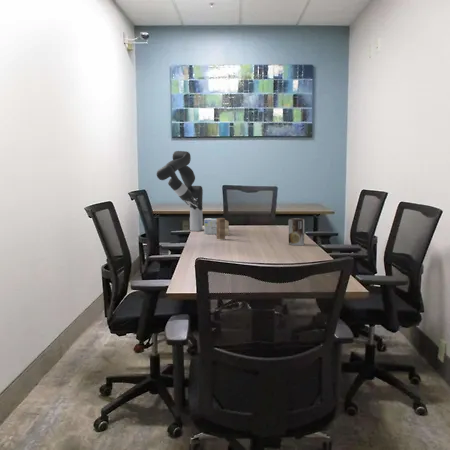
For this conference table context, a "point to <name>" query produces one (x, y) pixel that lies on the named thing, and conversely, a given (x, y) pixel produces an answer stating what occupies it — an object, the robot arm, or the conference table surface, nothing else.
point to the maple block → (226, 227)
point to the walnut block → (220, 228)
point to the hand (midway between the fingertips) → (198, 209)
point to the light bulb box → (210, 226)
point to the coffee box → (296, 231)
